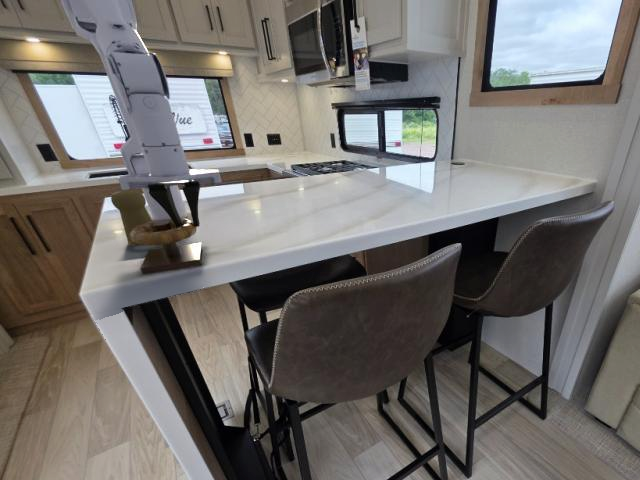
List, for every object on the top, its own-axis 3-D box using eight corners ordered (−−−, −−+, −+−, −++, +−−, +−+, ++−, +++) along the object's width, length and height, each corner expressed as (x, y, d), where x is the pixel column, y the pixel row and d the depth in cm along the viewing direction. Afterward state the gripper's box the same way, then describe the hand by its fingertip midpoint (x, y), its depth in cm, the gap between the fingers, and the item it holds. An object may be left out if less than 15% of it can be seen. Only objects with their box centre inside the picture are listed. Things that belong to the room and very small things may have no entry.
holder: (151, 255, 64) (135, 219, 60) (203, 248, 67) (191, 213, 63) (142, 274, 57) (125, 234, 53) (201, 265, 60) (188, 227, 56)
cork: (170, 243, 69) (150, 189, 64) (139, 253, 65) (114, 196, 59) (155, 238, 72) (134, 186, 66) (123, 247, 67) (98, 192, 62)
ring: (139, 232, 62) (134, 220, 61) (199, 224, 65) (195, 213, 64) (128, 251, 54) (122, 238, 53) (196, 241, 58) (192, 229, 56)
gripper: (98, 149, 47) (136, 239, 55) (210, 145, 53) (232, 227, 60) (111, 144, 53) (144, 226, 60) (211, 141, 58) (231, 216, 65)
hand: (188, 226), depth 60 cm, fingers closed on ring, 2 cm apart
